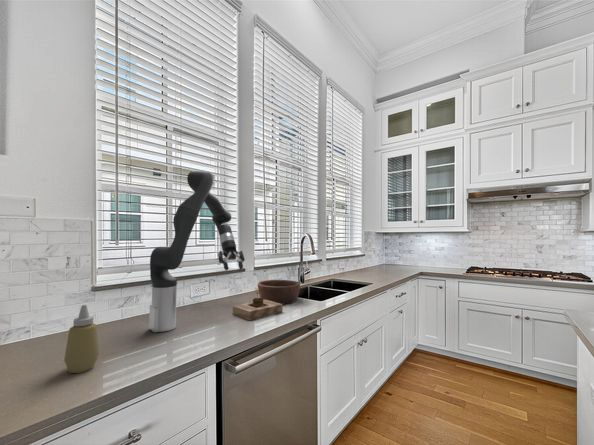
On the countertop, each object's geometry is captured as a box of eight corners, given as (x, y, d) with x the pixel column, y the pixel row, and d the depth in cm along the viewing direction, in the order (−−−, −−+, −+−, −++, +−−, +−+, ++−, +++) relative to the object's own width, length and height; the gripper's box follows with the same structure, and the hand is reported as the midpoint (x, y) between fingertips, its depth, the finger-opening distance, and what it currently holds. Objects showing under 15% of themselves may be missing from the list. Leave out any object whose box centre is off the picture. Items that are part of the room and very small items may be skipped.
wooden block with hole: (249, 320, 130) (249, 311, 130) (232, 314, 140) (232, 305, 140) (282, 312, 144) (282, 304, 144) (264, 307, 154) (265, 299, 154)
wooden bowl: (307, 299, 174) (307, 282, 174) (284, 308, 153) (284, 288, 153) (274, 294, 187) (274, 278, 188) (248, 301, 166) (248, 283, 167)
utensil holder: (252, 315, 138) (252, 290, 139) (250, 311, 144) (251, 287, 145) (264, 314, 140) (265, 289, 140) (262, 311, 146) (262, 287, 146)
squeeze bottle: (104, 362, 87) (107, 302, 87) (86, 375, 79) (88, 309, 79) (77, 362, 86) (79, 302, 87) (55, 375, 78) (58, 309, 79)
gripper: (219, 239, 152) (225, 267, 146) (242, 239, 162) (249, 265, 155) (213, 245, 157) (219, 273, 150) (235, 245, 167) (242, 271, 160)
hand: (234, 269), depth 153 cm, fingers open, 8 cm apart
